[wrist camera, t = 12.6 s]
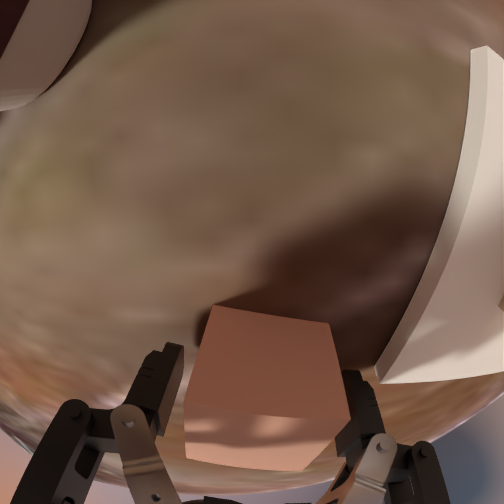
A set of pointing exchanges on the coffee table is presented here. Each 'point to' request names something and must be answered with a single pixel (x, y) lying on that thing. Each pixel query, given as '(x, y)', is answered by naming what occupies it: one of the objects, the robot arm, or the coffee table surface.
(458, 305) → the base plate
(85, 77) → the coffee table surface
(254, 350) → the terracotta block
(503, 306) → the maple block
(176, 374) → the robot arm
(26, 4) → the coffee cup
